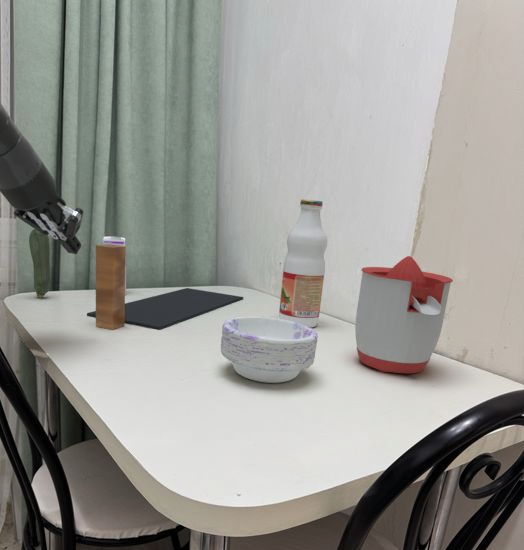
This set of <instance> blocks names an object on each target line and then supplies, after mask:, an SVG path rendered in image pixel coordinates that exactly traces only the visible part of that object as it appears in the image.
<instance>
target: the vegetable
mask: <svg viewBox="0 0 524 550" xmlns="http://www.w3.org/2000/svg"><path fill="white" fill-rule="evenodd" d="M28 245H29V251H30V255H31V259H32V264H33V288H34V291H35V294H36V297H38V298H40V299H41V298H43V297H44V296H46V294H47V293H48V292H49V291H50V286H51V248H50V245H51V243H50V237H49V234H48V235H47V236H45V235H43V234H42V233H40V232H39V231H37V230H36V229H34V228H33V229H32V230H31V231H30V233H29V236H28Z"/></svg>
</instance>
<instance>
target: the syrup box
mask: <svg viewBox="0 0 524 550" xmlns="http://www.w3.org/2000/svg"><path fill="white" fill-rule="evenodd" d="M126 243H127V242H126V237H122V236H103V237H102V245H104V244H111V245H118V246H125V247H126V246H127V245H126ZM126 248H127V247H126ZM126 294H127V250H126V251H125V296H126Z"/></svg>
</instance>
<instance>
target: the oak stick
mask: <svg viewBox="0 0 524 550" xmlns="http://www.w3.org/2000/svg"><path fill="white" fill-rule="evenodd" d="M125 251H126V252H127V247H125V246H118V245H111V244H104V245H103V244H95V311H96V317H95V327H97V328H102V329H108V330H117V329H119V328H122V327H125V324H126V323H125V303H126V295H125Z"/></svg>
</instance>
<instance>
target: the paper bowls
mask: <svg viewBox="0 0 524 550" xmlns="http://www.w3.org/2000/svg"><path fill="white" fill-rule="evenodd" d="M318 337H319V335H318V332H317V331H316V330H315V329H313V327H311V328H310V327H308V326H305V325H302V324H299V323H296V322H292V321H288V320H283V319H279V318H275V317H269V316H268V317H266V316H251V315H250V316H236V317H231V318H228V319H226V320H225V321H224V322H223V323H222V329H221V338H220V353H221V355H222V356H223V357H224V358H225V359H227V360H228V361H230V362H231V364H232V367H233V369H234V371H235V372H236V373H237V374H238V375H239V376H241V377H243V378H245V379H248V380H251V381H255V382H259V383H269V384H278V383H284V382H290V381H292V380H294V379H295V378H296V377H298V376H299V374H300V372H301V371H303V370H305V369H306V370H307V369H309V368H310V367H311V366H312V365H314V363H315V358H316V352H317V351H316V350H317V344H318Z"/></svg>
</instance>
